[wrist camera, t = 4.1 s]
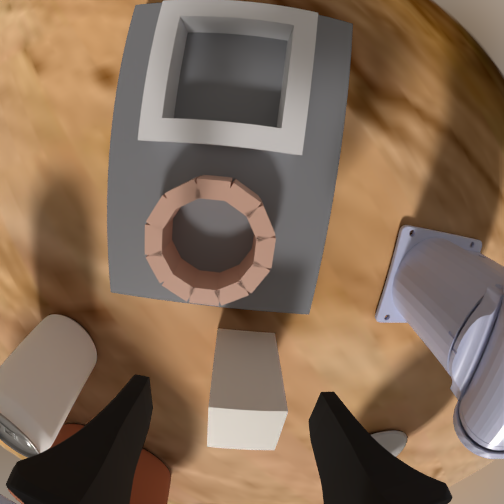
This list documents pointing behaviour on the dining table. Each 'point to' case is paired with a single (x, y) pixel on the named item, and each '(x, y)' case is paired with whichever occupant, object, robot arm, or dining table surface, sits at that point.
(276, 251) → the socket board
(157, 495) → the potted cactus
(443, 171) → the dining table surface
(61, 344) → the can
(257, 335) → the square peg
